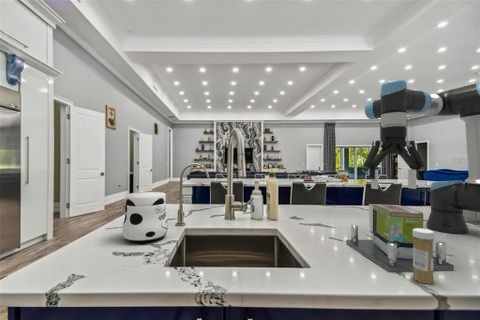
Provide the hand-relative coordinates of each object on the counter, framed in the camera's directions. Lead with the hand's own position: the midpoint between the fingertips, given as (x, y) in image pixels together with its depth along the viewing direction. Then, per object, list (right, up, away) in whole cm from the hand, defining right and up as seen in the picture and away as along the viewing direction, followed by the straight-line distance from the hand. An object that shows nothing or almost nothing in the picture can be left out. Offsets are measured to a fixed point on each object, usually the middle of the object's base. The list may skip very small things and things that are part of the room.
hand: (393, 188), depth 83 cm
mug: (+11, -23, +27) cm, 37 cm away
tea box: (0, -21, -1) cm, 21 cm away
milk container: (-91, -22, +16) cm, 95 cm away
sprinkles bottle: (-4, -23, -18) cm, 29 cm away
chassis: (-1, -23, -1) cm, 23 cm away
